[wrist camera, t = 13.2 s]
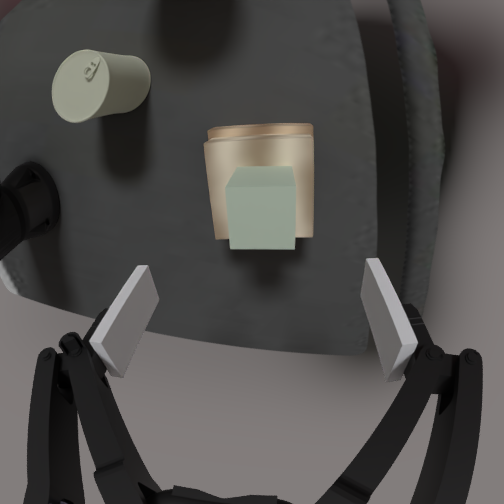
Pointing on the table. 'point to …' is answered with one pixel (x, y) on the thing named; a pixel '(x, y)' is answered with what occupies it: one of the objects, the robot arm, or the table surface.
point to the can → (99, 85)
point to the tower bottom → (260, 129)
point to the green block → (261, 207)
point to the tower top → (261, 154)
